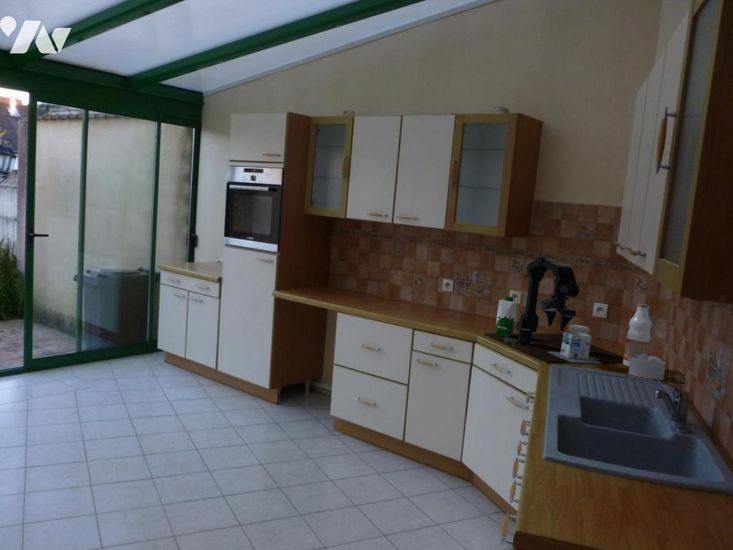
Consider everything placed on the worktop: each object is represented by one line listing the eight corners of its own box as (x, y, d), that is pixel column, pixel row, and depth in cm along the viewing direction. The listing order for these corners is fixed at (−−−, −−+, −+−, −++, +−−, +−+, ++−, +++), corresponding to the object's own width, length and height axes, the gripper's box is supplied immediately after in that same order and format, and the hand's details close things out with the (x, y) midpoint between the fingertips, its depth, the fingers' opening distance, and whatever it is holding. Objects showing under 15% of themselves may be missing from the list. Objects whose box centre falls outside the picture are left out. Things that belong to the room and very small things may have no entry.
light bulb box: (568, 358, 272) (571, 334, 271) (559, 354, 278) (562, 331, 277) (588, 359, 275) (592, 335, 274) (579, 355, 281) (583, 332, 280)
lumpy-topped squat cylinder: (666, 380, 250) (669, 360, 249) (634, 377, 250) (637, 356, 249) (653, 374, 260) (657, 354, 260) (623, 371, 260) (626, 351, 259)
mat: (548, 352, 283) (548, 351, 283) (577, 354, 287) (577, 353, 287) (570, 362, 265) (571, 361, 265) (602, 364, 270) (602, 362, 270)
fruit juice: (634, 368, 267) (644, 305, 265) (618, 363, 276) (627, 302, 273) (650, 368, 271) (659, 306, 268) (633, 363, 280) (642, 303, 277)
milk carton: (514, 335, 319) (519, 298, 317) (509, 337, 311) (514, 299, 309) (497, 332, 323) (502, 295, 321) (492, 334, 315) (497, 296, 313)
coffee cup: (562, 349, 295) (566, 325, 294) (571, 348, 302) (574, 324, 300) (580, 354, 288) (584, 329, 287) (589, 352, 295) (593, 328, 294)
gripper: (533, 289, 277) (528, 323, 278) (556, 295, 259) (551, 331, 261) (554, 291, 280) (549, 324, 282) (579, 297, 262) (573, 333, 264)
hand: (555, 328), depth 272 cm, fingers open, 9 cm apart
